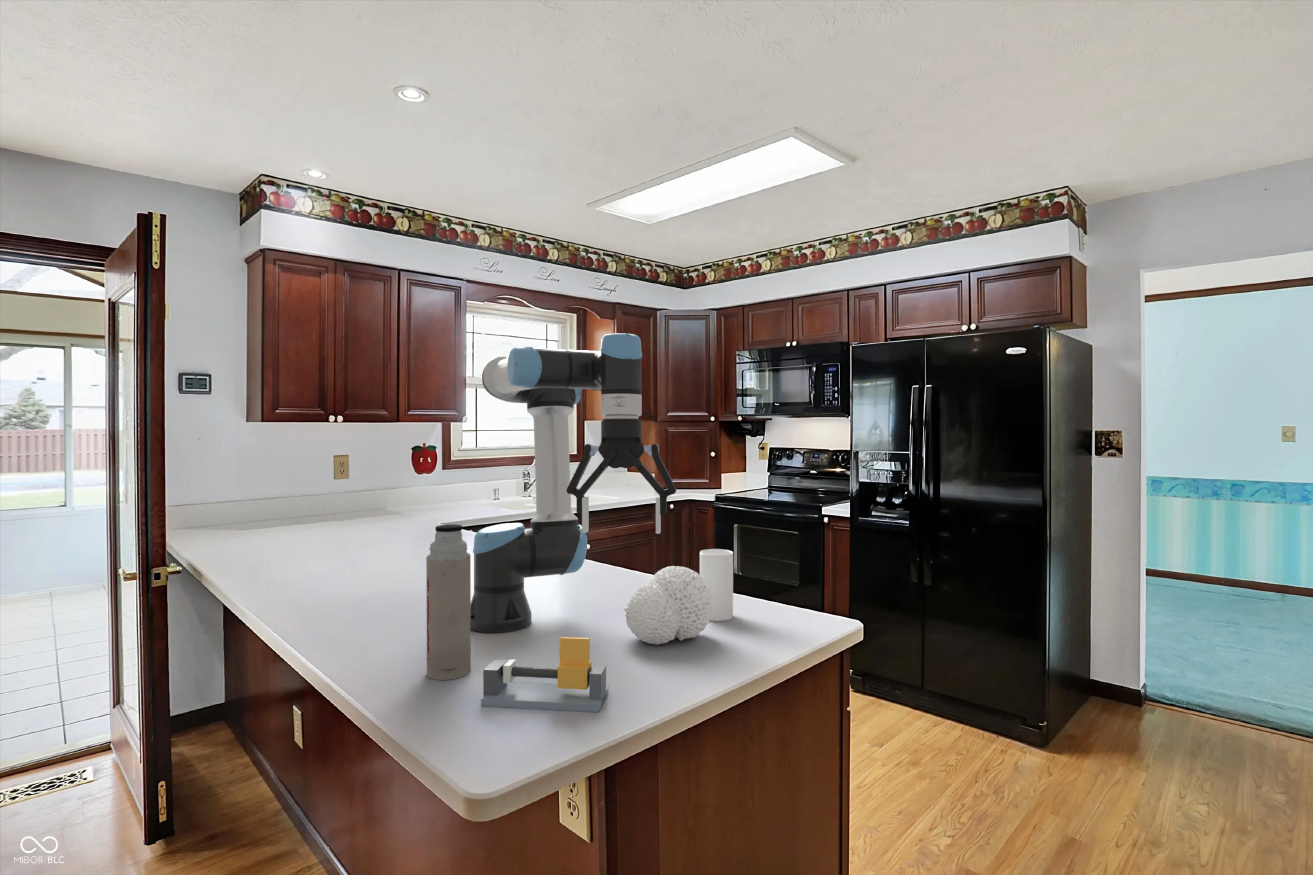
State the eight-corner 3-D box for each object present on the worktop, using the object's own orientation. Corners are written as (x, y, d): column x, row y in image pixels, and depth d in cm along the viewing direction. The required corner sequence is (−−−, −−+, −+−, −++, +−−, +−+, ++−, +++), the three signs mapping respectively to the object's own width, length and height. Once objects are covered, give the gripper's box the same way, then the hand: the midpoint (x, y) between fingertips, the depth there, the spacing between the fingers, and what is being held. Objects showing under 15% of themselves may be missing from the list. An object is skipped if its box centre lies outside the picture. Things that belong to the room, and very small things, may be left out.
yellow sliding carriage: (557, 688, 112) (557, 640, 112) (563, 680, 115) (563, 634, 115) (586, 689, 111) (586, 641, 111) (591, 681, 115) (591, 635, 115)
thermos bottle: (421, 680, 122) (421, 528, 122) (432, 665, 130) (432, 522, 130) (466, 679, 123) (465, 528, 123) (474, 664, 131) (473, 522, 131)
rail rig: (480, 705, 111) (479, 669, 111) (497, 687, 119) (497, 653, 119) (598, 712, 109) (598, 675, 109) (608, 692, 117) (608, 658, 117)
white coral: (682, 584, 162) (679, 539, 151) (732, 631, 151) (732, 587, 140) (615, 631, 153) (607, 587, 143) (663, 685, 142) (658, 641, 132)
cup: (731, 621, 160) (731, 555, 160) (697, 619, 162) (697, 554, 162) (734, 612, 168) (734, 549, 168) (701, 611, 170) (702, 548, 170)
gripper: (550, 417, 121) (550, 534, 121) (688, 417, 119) (688, 535, 119) (559, 418, 128) (559, 528, 128) (689, 418, 127) (689, 529, 127)
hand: (621, 532), depth 124 cm, fingers open, 13 cm apart
